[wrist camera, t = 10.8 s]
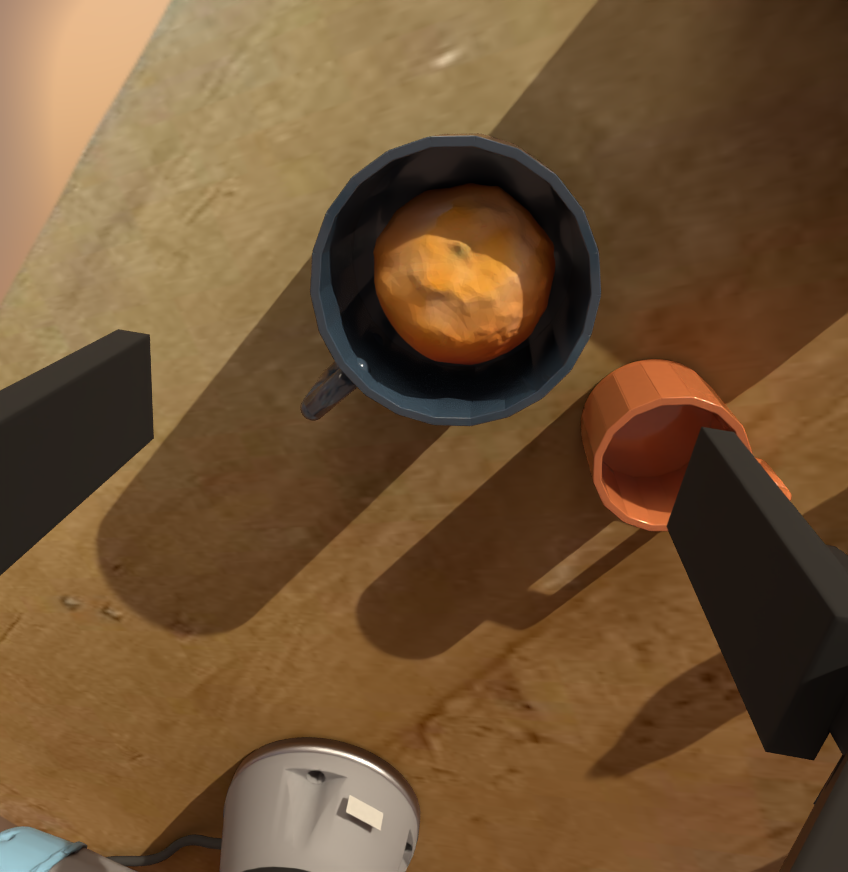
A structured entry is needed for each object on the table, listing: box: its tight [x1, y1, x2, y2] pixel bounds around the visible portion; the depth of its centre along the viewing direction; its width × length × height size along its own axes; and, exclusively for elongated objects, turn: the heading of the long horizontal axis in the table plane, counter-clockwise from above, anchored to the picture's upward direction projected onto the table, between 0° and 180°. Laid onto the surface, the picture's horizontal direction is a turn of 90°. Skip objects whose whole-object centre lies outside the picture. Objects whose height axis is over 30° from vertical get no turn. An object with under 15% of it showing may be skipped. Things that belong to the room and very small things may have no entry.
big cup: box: [301, 133, 601, 426], centre depth 31 cm, size 15×12×8 cm
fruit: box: [373, 183, 555, 365], centre depth 31 cm, size 8×8×8 cm
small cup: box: [581, 359, 792, 531], centre depth 34 cm, size 10×7×6 cm
